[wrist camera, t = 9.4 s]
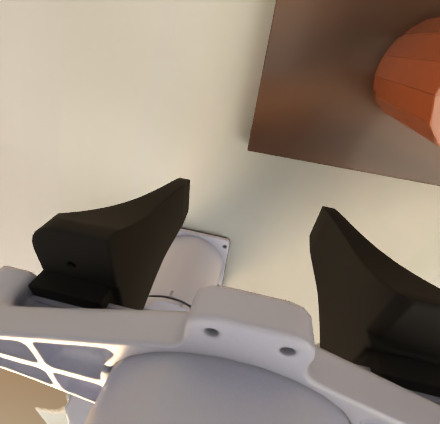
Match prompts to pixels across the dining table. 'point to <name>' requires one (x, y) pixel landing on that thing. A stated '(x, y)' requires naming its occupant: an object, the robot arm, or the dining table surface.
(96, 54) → the dining table surface
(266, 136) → the serving board
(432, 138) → the tumbler
